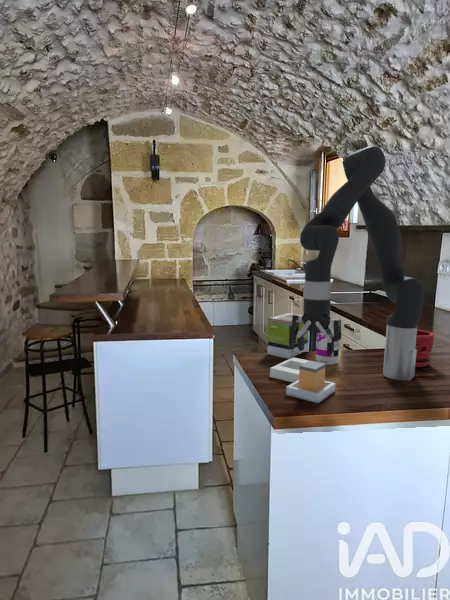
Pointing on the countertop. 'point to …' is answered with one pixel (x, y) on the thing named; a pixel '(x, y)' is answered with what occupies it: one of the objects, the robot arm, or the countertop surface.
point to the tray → (310, 392)
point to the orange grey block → (312, 376)
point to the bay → (287, 369)
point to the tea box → (284, 336)
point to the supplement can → (322, 349)
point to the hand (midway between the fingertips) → (314, 352)
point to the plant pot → (423, 347)
